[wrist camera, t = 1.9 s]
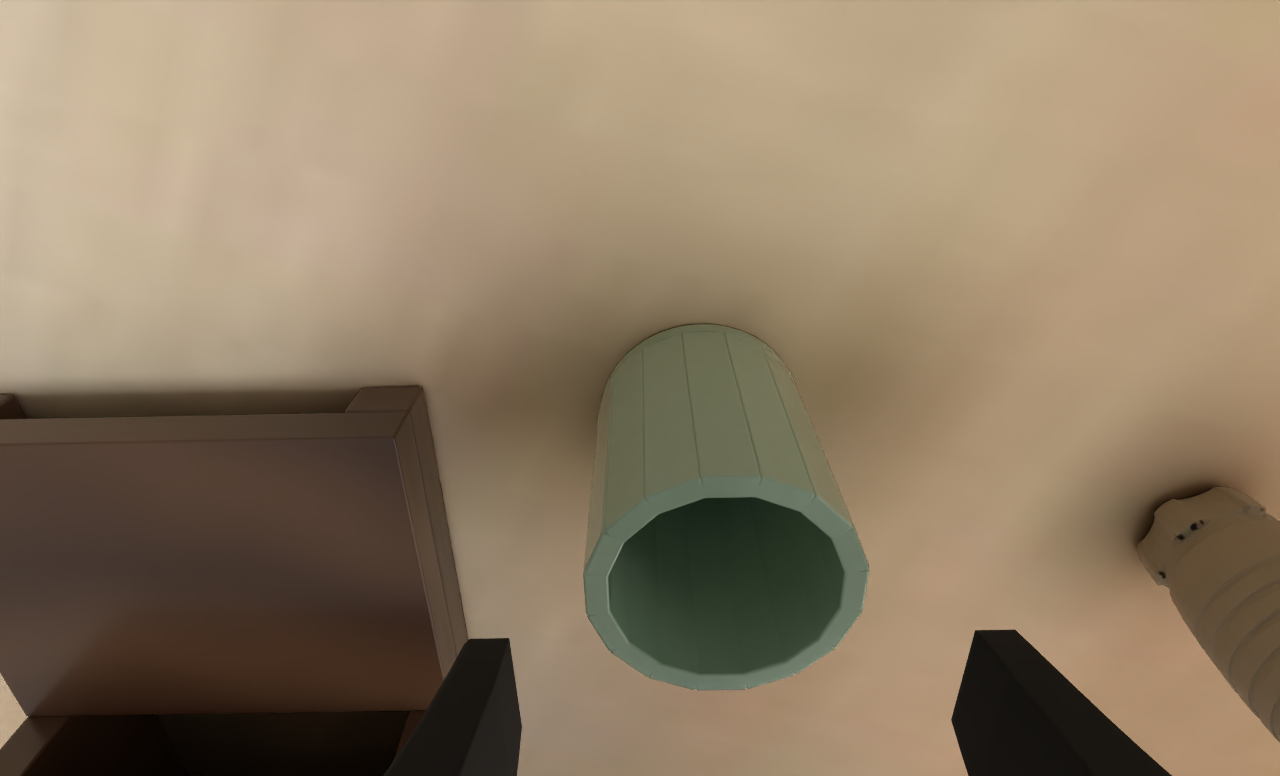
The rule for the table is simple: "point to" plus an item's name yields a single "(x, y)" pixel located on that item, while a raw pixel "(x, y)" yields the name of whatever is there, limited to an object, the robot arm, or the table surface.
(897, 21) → the table surface
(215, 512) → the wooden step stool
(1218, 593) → the handle
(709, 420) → the pencil cup
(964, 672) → the robot arm
